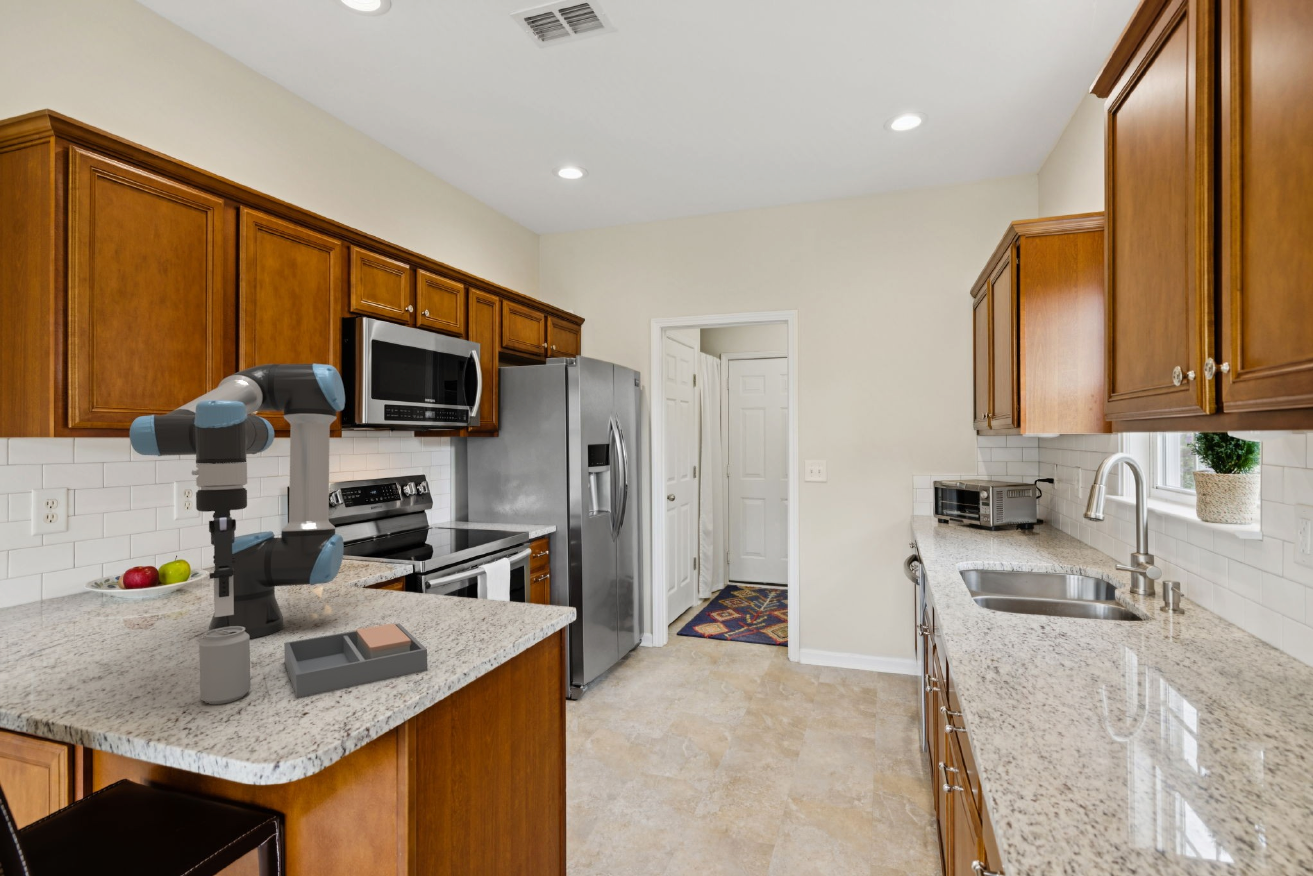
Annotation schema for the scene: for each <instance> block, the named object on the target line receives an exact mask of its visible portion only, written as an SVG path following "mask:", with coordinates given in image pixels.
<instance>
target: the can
mask: <svg viewBox="0 0 1313 876" xmlns="http://www.w3.org/2000/svg"><path fill="white" fill-rule="evenodd" d="M203 637H204V638H202V639H201V641H199V643H198V644H199V645H198V648H199V649H198V650H199V652H198V653H199V655H198V657H199V694H200V695H199V699H200V700H202V701H203V702H205V703H206V704H207V703H209V704H208V705H223V704H227V703H231V702H235V701H237V700H240V699H242V698H244V697H245V696H246V694H247V693H249V691H250V690H251V646H250V643H251V642H250V640H251V639H250V636H249V634H247V633H246V632H245V628H244V627H241V626H231V627H223V628H218V629H214V630H210V631H209V630H208V631H206V632H204V633H203Z"/></svg>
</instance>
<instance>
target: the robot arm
mask: <svg viewBox="0 0 1313 876" xmlns="http://www.w3.org/2000/svg"><path fill="white" fill-rule="evenodd" d="M345 404H346V394H345V388H344V383H343V380H342V377H341V375H340V373H339V371H338V370H337V368H336V367H335V366H333V365H330V364H321V363H285V364H284V363H282V364H281V363H280V364H279V363H278V364H277V363H268V364H267V363H265V364H261V365H256V366H253V367H249V368H246V369H243V370H240V371H238V372H235V373H233V374H230V375H229V376H227V377H225V378H223V379H222V380H221V381H220V382H219V384H218V385H217V387H216V388H214V389H212V390H210V391H208V392H206V393H205V394H203V395H200V396H198V397H197V398H195V399H193V400H192V401H189V402H187V403H185V404H183V405H182V406H180V407H178V408H176V409H174V410H172V411H170V412H167V413H166V414H161V415H157V414H151V415H142V416H138V417H136V418H135V419H134V420H133V422H132V423H131V425H130V428H129V440H130V446H132V449H133V450H134V451H135V452H136V453H137V454H139V455H142V456H157V457H162V456H163V457H165V456H193V455H194V456H195V459H196V460H195V464H196V466H195V467H196V469H192V471H191V475H192V476H196V478H195V479H196V480H195V481H196V482H195V484H196V486H197V487H199V488H200V489H198V490H197V491H196V492H195V509H196V510H197V511H198V512H204V513H207V512H213V514H212V518H213V520H208V532H209V533H210V544H211V545H212V546H213V557H212V558H213V562H212V563H213V572H210V573H209V579H210V580H211V579H212V580H213V601H214V602H213V603H214V604H213V605H214V606H213V610H214V612H213V615H212V617H211V622H210V624H209V625H208V631H210V630H214V629H218V628H223V627H231V626H241V627H244V628H245V632H246V633H247V634H249V636H250V640H251V639H255V638H260V637H264V636H269V635H271V634H274V633H276V632H279V631H280V630H282V629H284V626H285V625H284V619H285V618H284V615H283V613H282V610H281V608H280V606H279V602H278V601H277V598H276V595H275V593H276V591H275V589H276V587H288V586H305V585H306V586H307V585H310V586H315V585H320V584H321V585H323V584H328V583H331V582H332V581H334V579H335V578H336V577H337V576H338V574H339V571H340V568H341V566H342V563H343V557H344V552H345V551H344V550H345V549H344V548H345V547H344V539H343V538H344V537H342V535H340V534H339V533H336V527H335V525H333V524H332V522H330V521H329V516H330V515H329V509H330V508H329V506H330V501H329V499H330V495H329V494H330V437H331V436H330V434H331V433H330V430H331V428H330V427H331V425H332V423H334V421H336V420H337V413H338V412H341V411H343V410H344V409H345ZM255 412H283V418H284V420H286V421H287V423H289V425H290V438H289V439H290V440H289V441H290V442H289V444H290V445H289V492H288V493H289V494H288V495H289V498H288V499H289V500H288V501H289V503H288V504H289V505H288V523H287V524H286V525H285V526H284V527H283V528H281V536H280V537H275V534H274V532H273V531H270V530H269V531H261V532H260V531H259V532H253V533H249V534H242V535H238V536H236V535H235V532H236V529H237V520H236V519H235V518H232V516H231V511H240V510H243V509H246V508H247V506H248V490H247V489H246V487H244V486H245V485H247V484H248V462H247V455H257V454H258V453H263V452H265V451H266V450H267V449H268V448H270V447H271V446H272V445H273V442H274V440H275V430H274V427H273V426H272V424H271V423H270V421H268V420H267V419H266V418H263V417H261V416H259V415H256V414H253V413H255Z"/></svg>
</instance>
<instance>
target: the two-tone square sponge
mask: <svg viewBox="0 0 1313 876" xmlns="http://www.w3.org/2000/svg"><path fill="white" fill-rule="evenodd" d="M395 624H396V623H388V624H387V623H386V624H382V625H381V624H380V625H376V626H371V627H365V628H358V629H355V631H356V634H357V643H358V651H359V653H360V654H361V655H362V657H363V658H364V659H365V660H368V659H373V658H378V657H383V656H389V655H394V654H399V653H404V652H409V651H410V644H411V640H410V639H409V638H408V637H407V636H406V635H405V634H404V633H403V632H402V631H401V630H400V629H399V628H398V627H397V626H396V625H395Z"/></svg>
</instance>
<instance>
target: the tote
mask: <svg viewBox="0 0 1313 876" xmlns="http://www.w3.org/2000/svg"><path fill="white" fill-rule="evenodd" d="M394 624H395V625H396V626H397V627H398V628H399V629H400V630H401V631H402V632H403V633H404V634H405V635H406V636H407V637H408V638H409V639H410V640H411V644H410V651H409V652H404V653H399V654H394V655H389V656H383V657H378V658H373V659H368V660H365V659H364V658H363V657H362V655H361V654H360V653H359V651H358V643H357V634H356V630H353V631H346V632H345V631H344V632H340V633H339V632H338V633H334V634H328V635H323V636H317V637H310V638H304V639H299V640H298V639H297V640H294V641H293V640H292V641H287V642H284V643H283V645H284V646H283V647H284V654H283V655H284V665H285V667H286V671H287V674H288V677H289V680H290V683H291V687H292V689H293V691H294V694H295V697H296V699H300V698H301V699H302V698H304V697H309V696H314V695H319V694H324V693H329V692H333V691H336V690H337V691H338V690H343V689H347V688H351V687H356V686H360V685H365V684H371V683H374V682H375V683H376V682H379V681H385V680H390V679H394V678H399V677H403V676H407V675H413V674H418V673H421V672H426V671H427V672H428V649H427V648H426V647H425V646H424V645H423V644H422V643H421V642H420V641H419V640H418V639H417V638H415V636H414V635H413V634H412V633H411V632H409V631H408V629H406V628H405V627H404V626H403V625H402V624H401V623H394Z"/></svg>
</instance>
